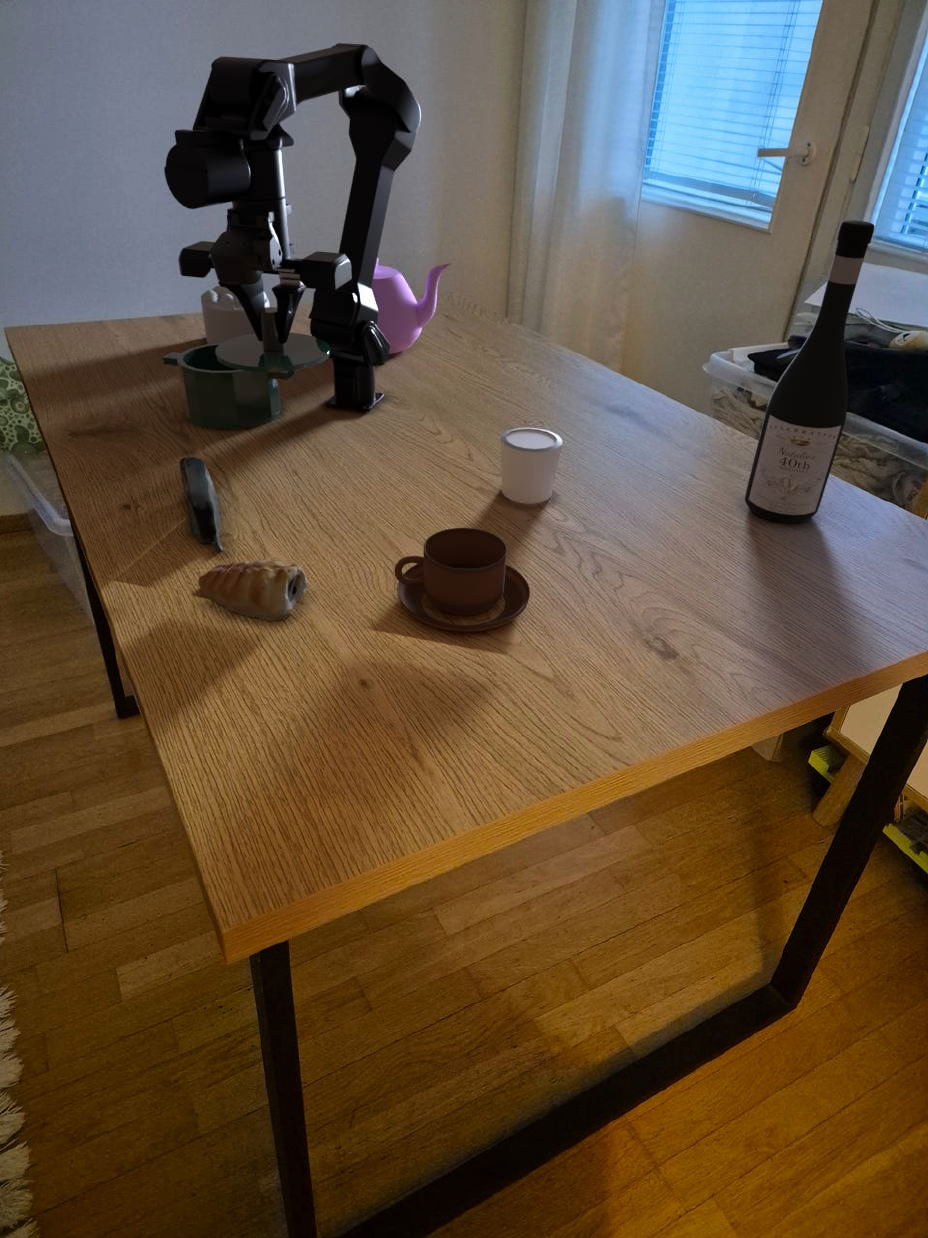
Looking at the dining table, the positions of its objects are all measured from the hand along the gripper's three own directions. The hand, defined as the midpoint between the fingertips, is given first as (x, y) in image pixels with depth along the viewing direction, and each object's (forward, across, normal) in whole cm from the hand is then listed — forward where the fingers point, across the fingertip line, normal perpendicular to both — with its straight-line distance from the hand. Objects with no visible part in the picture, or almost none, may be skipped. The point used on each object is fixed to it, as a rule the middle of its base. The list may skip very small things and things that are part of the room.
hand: (272, 341), depth 100 cm
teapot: (+13, 0, +42) cm, 43 cm away
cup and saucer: (+12, +31, -30) cm, 45 cm away
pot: (+12, -10, +7) cm, 17 cm away
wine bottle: (+13, +61, -1) cm, 62 cm away
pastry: (+12, +13, -35) cm, 39 cm away
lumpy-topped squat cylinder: (+13, -22, +34) cm, 43 cm away
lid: (+1, 0, 0) cm, 1 cm away
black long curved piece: (+12, +1, -23) cm, 26 cm away
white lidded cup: (+13, +33, -6) cm, 36 cm away
